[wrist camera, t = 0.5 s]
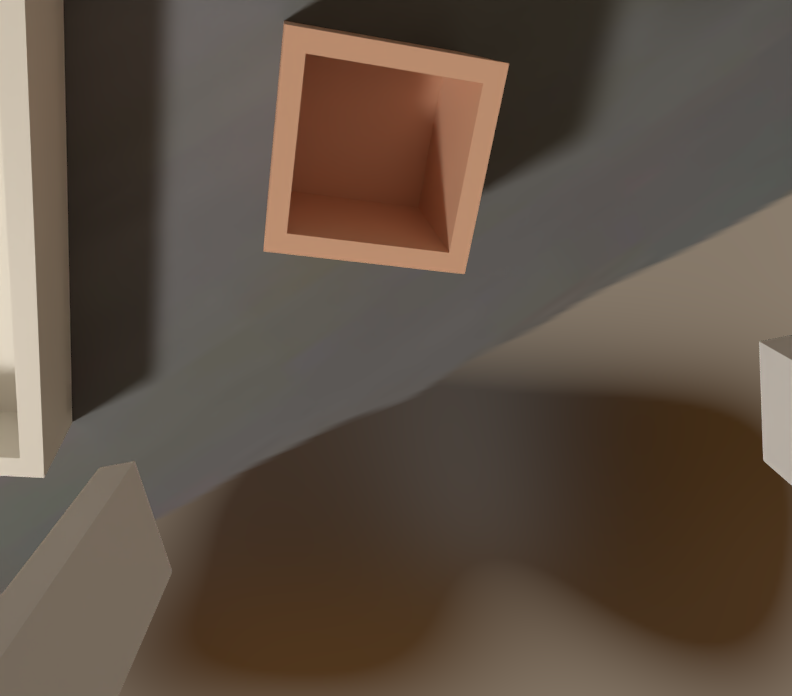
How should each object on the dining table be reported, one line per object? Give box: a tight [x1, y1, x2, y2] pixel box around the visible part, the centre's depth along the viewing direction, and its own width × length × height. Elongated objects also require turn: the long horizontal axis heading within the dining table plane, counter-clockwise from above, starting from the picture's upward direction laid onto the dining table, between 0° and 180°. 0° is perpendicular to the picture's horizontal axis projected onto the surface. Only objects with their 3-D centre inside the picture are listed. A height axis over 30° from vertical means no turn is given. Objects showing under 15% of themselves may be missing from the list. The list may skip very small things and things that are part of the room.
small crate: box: [264, 21, 509, 274], centre depth 30 cm, size 8×8×8 cm
